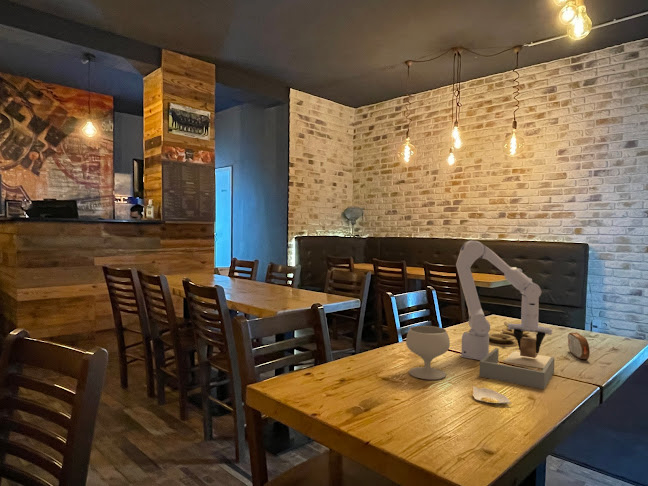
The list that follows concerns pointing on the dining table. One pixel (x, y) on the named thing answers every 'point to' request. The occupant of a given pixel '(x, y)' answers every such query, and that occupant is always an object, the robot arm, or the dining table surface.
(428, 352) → the chalice
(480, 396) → the pale veined leaf
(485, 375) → the open box
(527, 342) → the walnut block
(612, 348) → the dining table surface
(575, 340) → the tin
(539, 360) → the mat
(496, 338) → the tableware set
